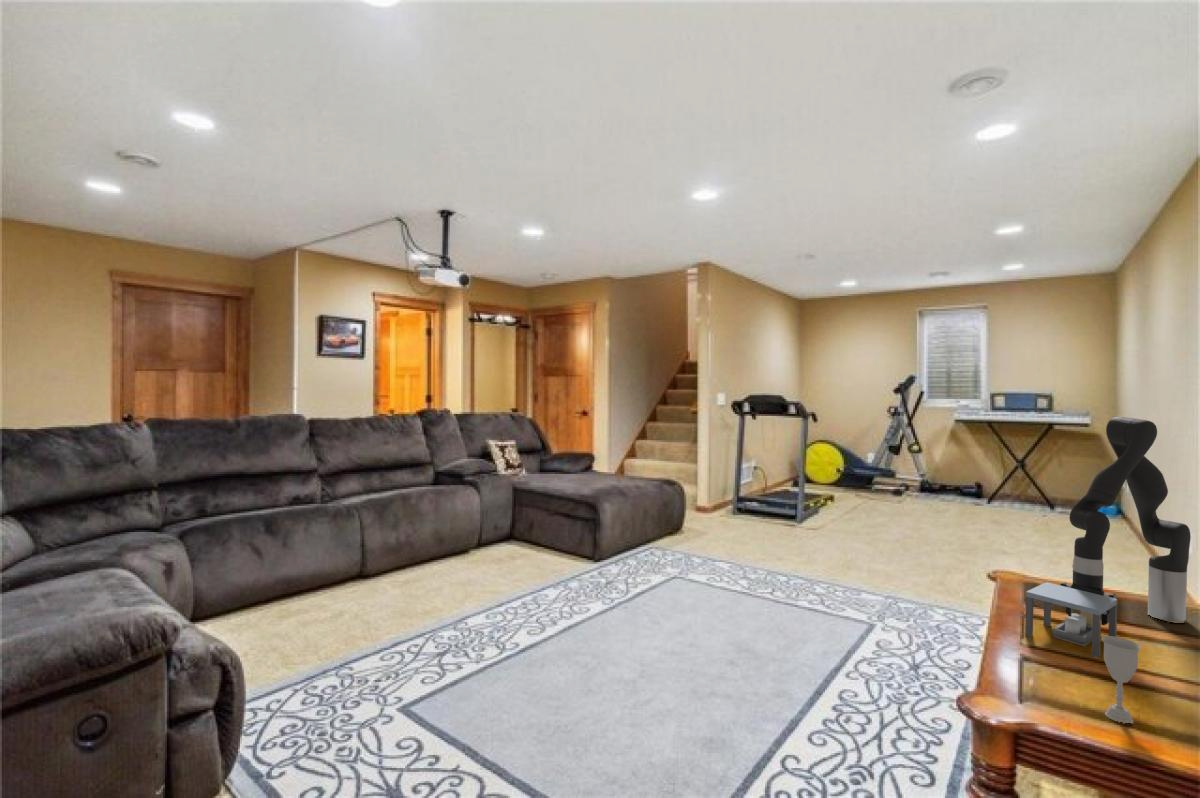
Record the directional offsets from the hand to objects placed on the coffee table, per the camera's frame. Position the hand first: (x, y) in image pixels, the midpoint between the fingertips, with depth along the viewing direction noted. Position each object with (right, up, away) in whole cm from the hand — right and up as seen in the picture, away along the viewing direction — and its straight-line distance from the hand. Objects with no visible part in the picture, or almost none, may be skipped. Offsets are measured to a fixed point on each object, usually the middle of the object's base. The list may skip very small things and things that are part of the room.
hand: (1086, 620), depth 185 cm
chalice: (-35, -4, -50) cm, 61 cm away
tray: (-6, -3, -4) cm, 7 cm away
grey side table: (-12, -3, -8) cm, 15 cm away
